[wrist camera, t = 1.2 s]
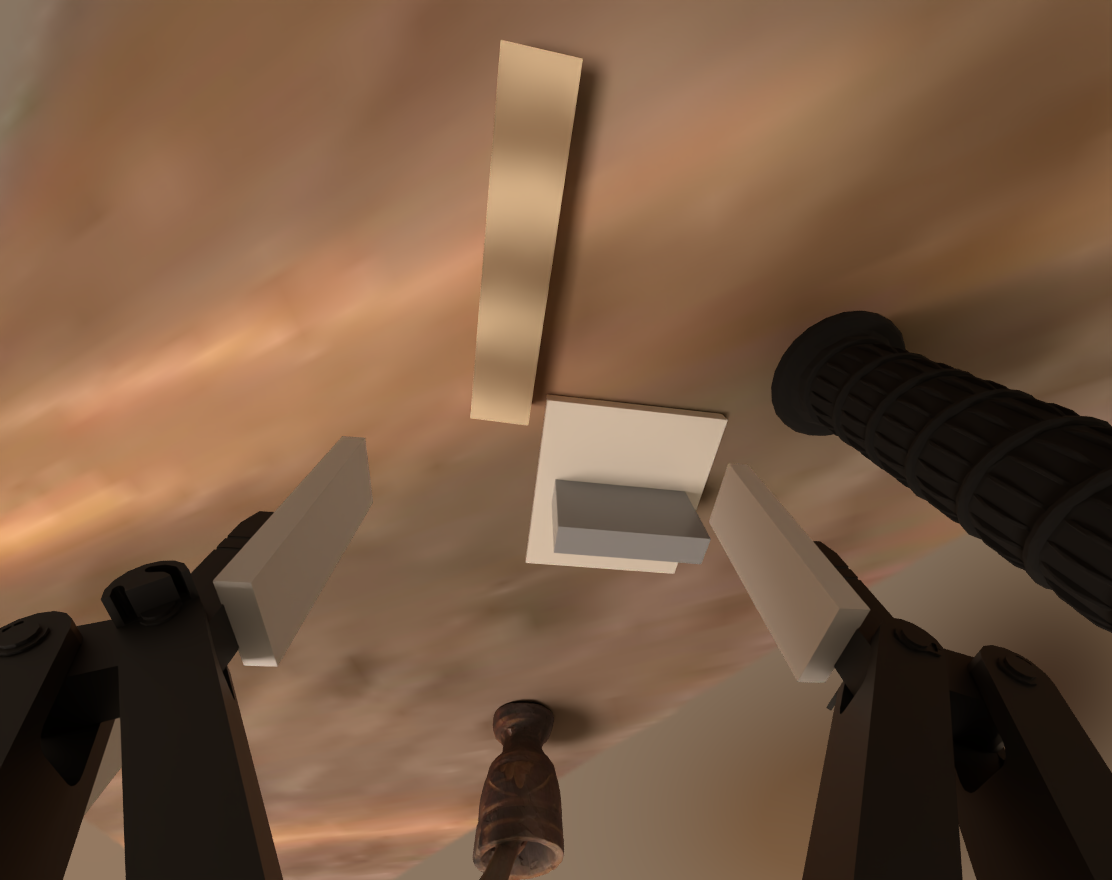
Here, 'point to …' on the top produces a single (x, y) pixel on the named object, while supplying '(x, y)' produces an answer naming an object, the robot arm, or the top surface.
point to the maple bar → (521, 224)
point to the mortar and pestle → (520, 800)
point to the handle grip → (964, 450)
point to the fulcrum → (621, 485)
